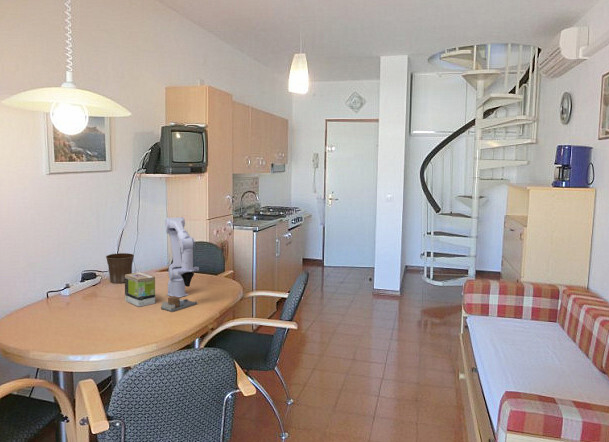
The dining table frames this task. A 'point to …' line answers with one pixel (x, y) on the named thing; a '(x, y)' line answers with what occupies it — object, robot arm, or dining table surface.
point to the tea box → (140, 289)
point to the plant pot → (119, 266)
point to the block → (174, 300)
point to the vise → (171, 307)
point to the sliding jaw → (181, 302)
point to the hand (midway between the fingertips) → (187, 286)
